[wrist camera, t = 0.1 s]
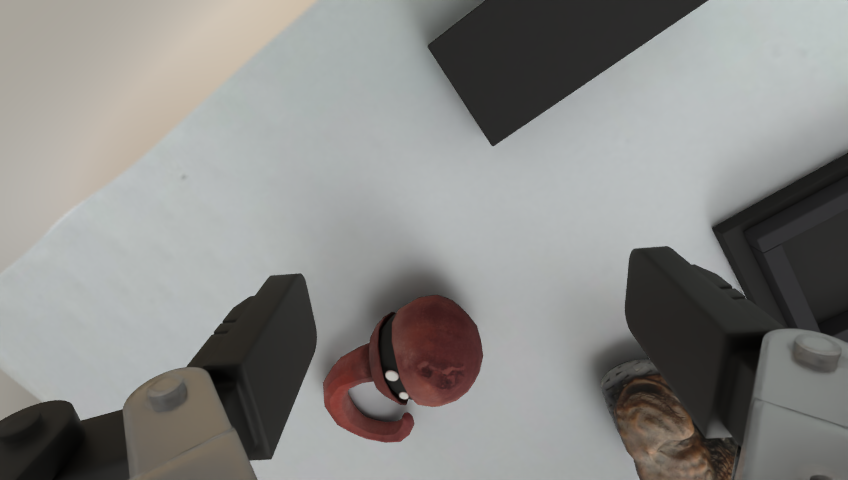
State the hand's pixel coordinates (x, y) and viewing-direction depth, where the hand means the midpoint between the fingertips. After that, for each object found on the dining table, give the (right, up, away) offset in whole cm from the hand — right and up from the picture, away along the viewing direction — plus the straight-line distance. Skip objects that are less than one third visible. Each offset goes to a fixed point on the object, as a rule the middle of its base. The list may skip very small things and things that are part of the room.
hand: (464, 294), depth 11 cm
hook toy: (-2, -7, +19) cm, 21 cm away
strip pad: (+6, +12, +11) cm, 17 cm away
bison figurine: (+15, -10, +20) cm, 27 cm away
